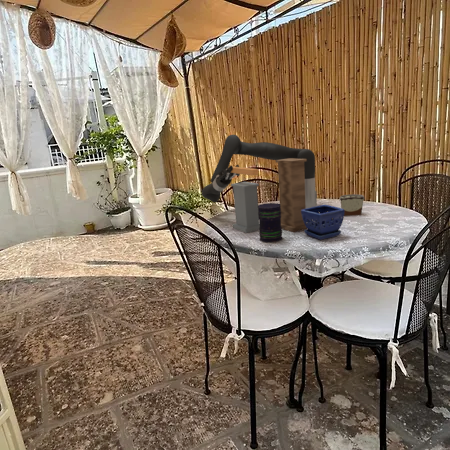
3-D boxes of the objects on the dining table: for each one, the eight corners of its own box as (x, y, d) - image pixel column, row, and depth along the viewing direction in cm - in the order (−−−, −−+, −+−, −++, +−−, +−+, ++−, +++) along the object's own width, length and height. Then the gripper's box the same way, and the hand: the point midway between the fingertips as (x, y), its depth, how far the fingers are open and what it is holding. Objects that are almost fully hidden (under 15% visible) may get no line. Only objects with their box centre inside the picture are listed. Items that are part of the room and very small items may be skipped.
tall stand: (277, 227, 173) (273, 160, 165) (293, 223, 177) (290, 158, 169) (293, 232, 163) (290, 161, 155) (310, 227, 167) (308, 158, 159)
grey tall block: (232, 228, 178) (229, 184, 173) (249, 224, 183) (246, 181, 177) (245, 233, 168) (242, 186, 163) (263, 228, 173) (260, 183, 167)
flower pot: (320, 242, 146) (319, 214, 143) (300, 235, 158) (299, 208, 155) (345, 236, 151) (345, 208, 148) (325, 229, 163) (324, 203, 160)
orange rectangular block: (228, 172, 178) (227, 167, 178) (233, 171, 180) (233, 166, 179) (252, 175, 160) (252, 169, 159) (258, 174, 161) (258, 169, 160)
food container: (361, 212, 187) (361, 193, 184) (364, 215, 181) (364, 195, 178) (336, 213, 188) (336, 195, 186) (339, 216, 182) (339, 197, 180)
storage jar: (279, 242, 150) (278, 208, 146) (257, 242, 153) (254, 208, 150) (284, 235, 159) (282, 202, 155) (262, 235, 162) (260, 203, 159)
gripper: (207, 177, 187) (220, 161, 172) (231, 173, 193) (244, 158, 178) (212, 190, 185) (225, 175, 170) (235, 186, 192) (249, 171, 177)
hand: (235, 166), depth 174 cm, fingers closed on orange rectangular block, 3 cm apart
